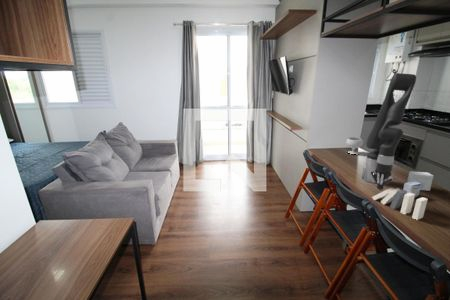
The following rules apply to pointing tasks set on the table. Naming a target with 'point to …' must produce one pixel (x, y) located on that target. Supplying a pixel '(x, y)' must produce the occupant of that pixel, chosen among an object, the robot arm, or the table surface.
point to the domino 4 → (407, 203)
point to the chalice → (354, 144)
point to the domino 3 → (398, 199)
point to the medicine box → (412, 188)
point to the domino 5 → (419, 208)
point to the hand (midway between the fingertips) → (379, 189)
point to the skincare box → (421, 179)
